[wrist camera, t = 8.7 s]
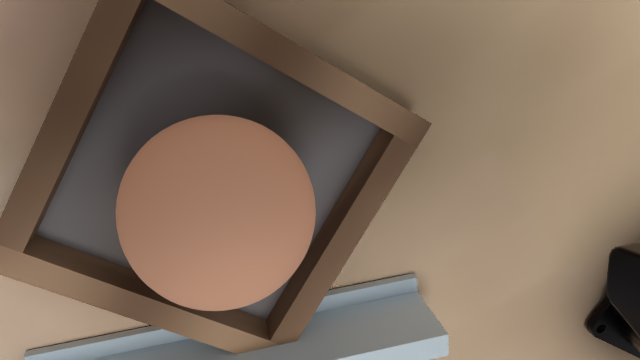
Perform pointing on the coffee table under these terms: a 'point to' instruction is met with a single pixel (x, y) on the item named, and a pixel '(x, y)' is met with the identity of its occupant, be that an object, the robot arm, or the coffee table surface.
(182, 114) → the walnut tray
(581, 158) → the coffee table surface
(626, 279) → the robot arm
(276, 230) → the ball
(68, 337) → the coffee table surface
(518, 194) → the coffee table surface
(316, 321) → the light blue ledge shelf
